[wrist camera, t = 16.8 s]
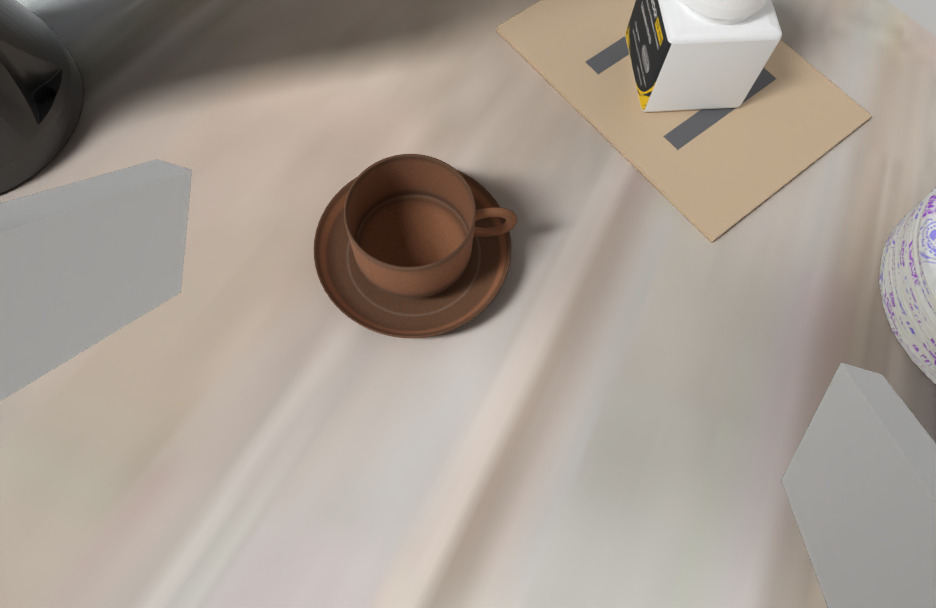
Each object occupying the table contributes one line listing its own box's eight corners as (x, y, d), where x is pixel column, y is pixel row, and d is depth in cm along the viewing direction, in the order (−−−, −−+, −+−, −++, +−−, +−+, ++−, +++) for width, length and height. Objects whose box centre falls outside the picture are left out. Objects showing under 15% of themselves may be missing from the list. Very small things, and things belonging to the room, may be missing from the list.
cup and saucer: (457, 152, 49) (459, 92, 43) (542, 299, 45) (556, 254, 39) (290, 218, 47) (269, 164, 41) (363, 380, 43) (351, 345, 37)
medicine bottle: (623, 34, 53) (671, -118, 41) (718, 30, 53) (791, -122, 42) (640, 114, 50) (697, -26, 39) (740, 109, 50) (825, -30, 39)
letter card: (496, 30, 53) (496, 26, 52) (652, -64, 57) (653, -68, 57) (711, 242, 47) (714, 239, 46) (868, 119, 51) (872, 115, 50)
